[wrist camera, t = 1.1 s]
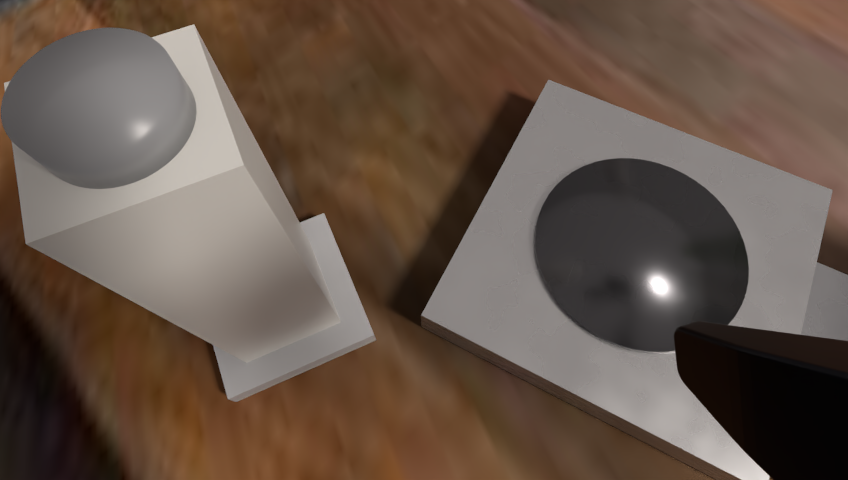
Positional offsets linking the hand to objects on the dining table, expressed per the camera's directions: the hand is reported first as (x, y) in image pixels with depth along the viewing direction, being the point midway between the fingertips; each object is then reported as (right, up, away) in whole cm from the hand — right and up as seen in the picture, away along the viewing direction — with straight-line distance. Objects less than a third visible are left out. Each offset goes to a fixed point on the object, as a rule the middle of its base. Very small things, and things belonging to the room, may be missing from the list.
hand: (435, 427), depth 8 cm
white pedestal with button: (-7, 0, +14) cm, 16 cm away
